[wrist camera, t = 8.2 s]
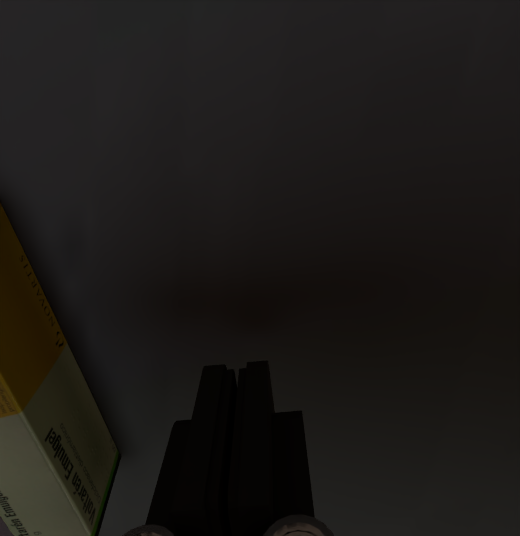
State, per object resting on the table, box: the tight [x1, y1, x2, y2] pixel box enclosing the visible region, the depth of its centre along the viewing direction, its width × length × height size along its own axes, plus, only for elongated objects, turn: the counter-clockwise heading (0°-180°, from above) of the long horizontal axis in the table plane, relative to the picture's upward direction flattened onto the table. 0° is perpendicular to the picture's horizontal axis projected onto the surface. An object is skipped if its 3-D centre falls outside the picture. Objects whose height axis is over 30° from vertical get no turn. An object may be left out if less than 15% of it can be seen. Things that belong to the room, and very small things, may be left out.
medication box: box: [0, 203, 121, 536], centre depth 13 cm, size 12×3×4 cm, turn 12°
